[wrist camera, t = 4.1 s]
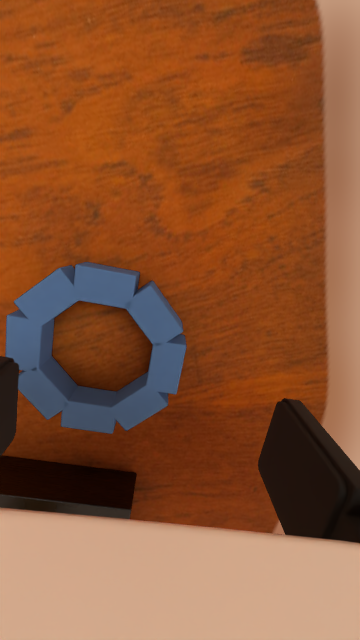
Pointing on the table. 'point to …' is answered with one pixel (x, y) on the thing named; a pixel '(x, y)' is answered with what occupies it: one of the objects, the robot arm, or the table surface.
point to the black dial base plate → (65, 488)
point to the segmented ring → (50, 378)
